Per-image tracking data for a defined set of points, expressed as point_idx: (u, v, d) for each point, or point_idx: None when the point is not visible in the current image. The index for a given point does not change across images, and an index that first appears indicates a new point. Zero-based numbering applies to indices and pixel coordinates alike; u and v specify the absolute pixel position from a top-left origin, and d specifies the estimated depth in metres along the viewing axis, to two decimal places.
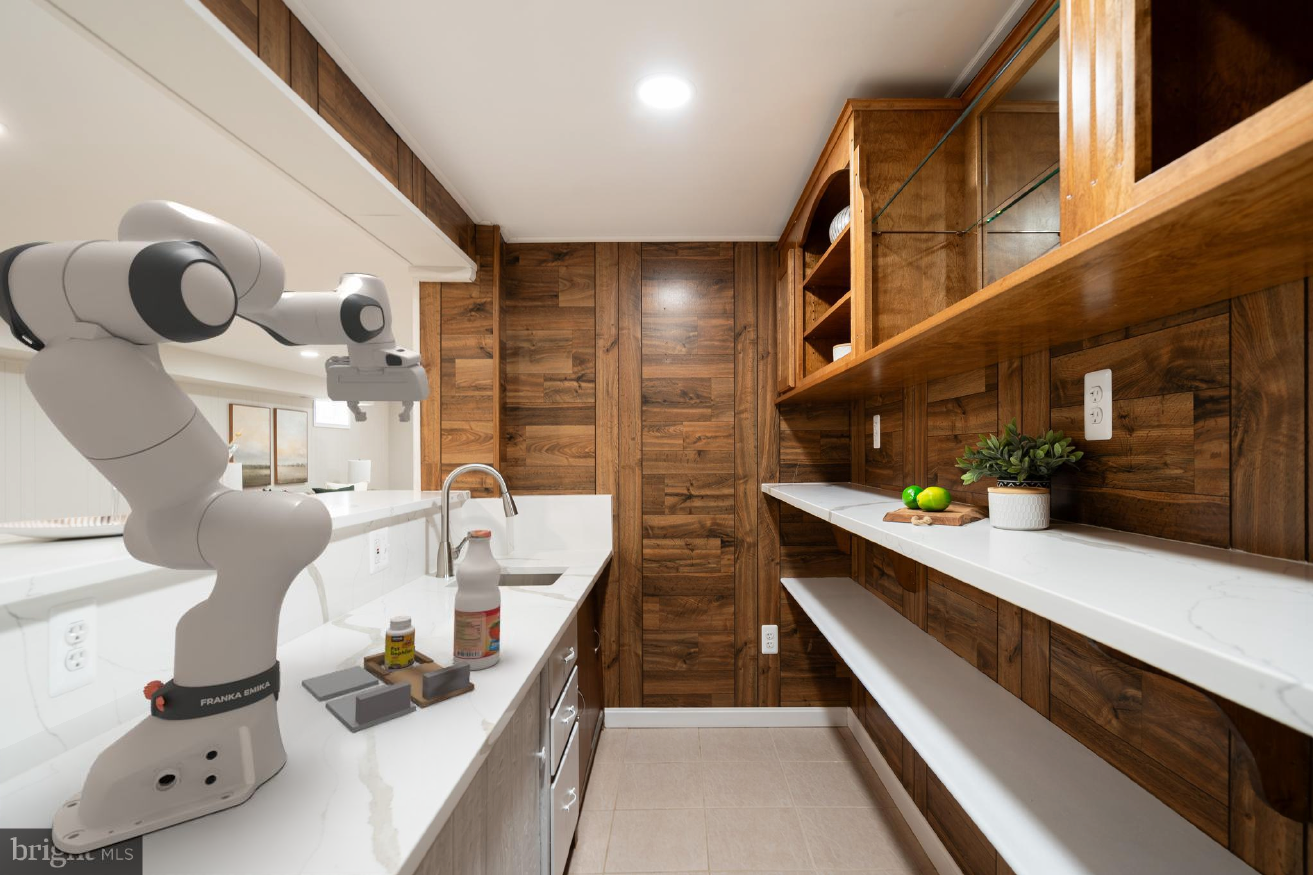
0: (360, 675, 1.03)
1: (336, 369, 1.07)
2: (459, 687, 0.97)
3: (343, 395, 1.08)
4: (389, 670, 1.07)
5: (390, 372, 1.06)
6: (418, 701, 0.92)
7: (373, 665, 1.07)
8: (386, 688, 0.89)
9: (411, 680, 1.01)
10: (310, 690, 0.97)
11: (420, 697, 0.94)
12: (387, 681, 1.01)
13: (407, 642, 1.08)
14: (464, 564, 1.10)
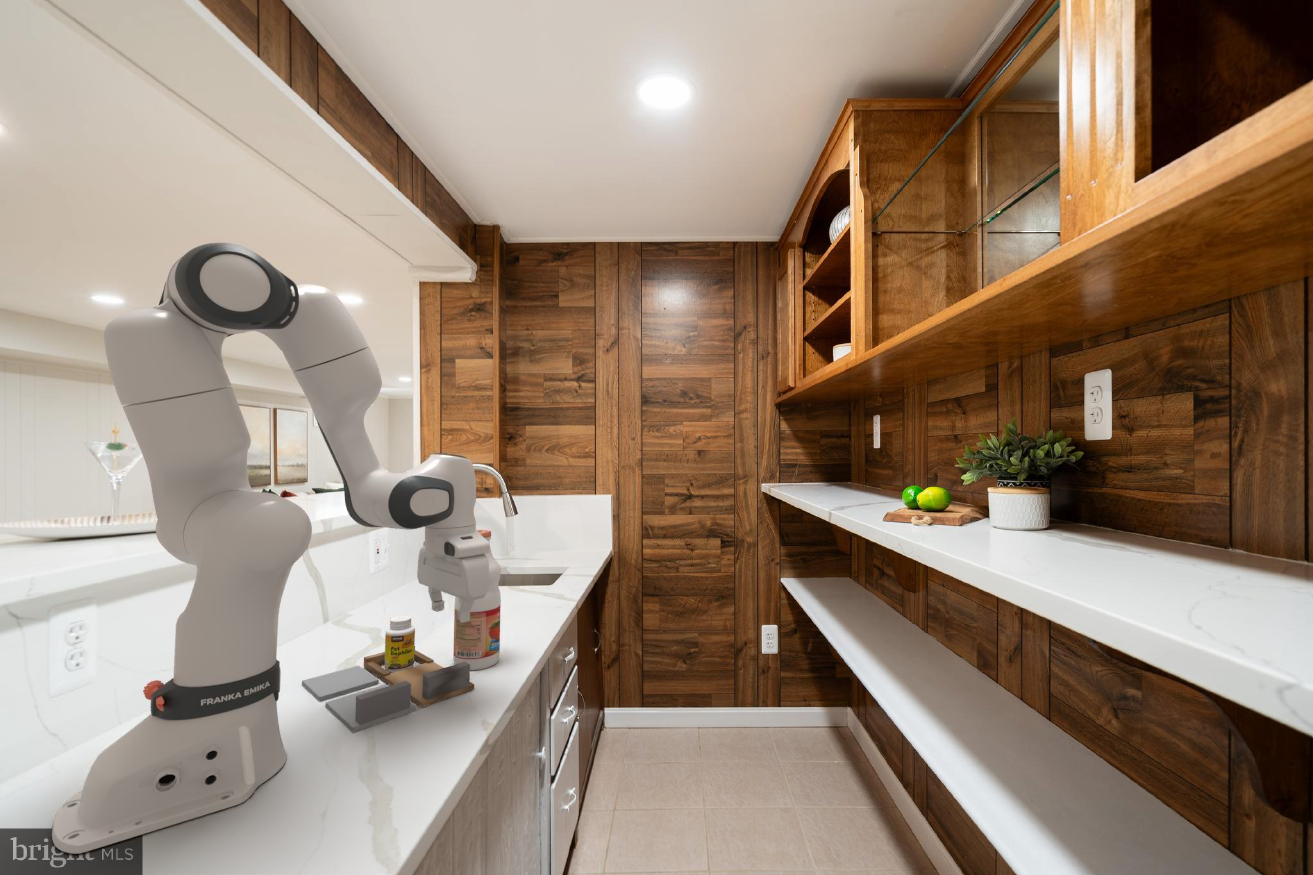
0: (360, 675, 1.03)
1: (423, 550, 1.01)
2: (459, 687, 0.97)
3: (424, 579, 1.00)
4: (389, 670, 1.07)
5: (449, 562, 0.92)
6: (418, 701, 0.92)
7: (373, 665, 1.07)
8: (386, 688, 0.89)
9: (411, 680, 1.01)
10: (310, 690, 0.97)
11: (420, 697, 0.94)
12: (387, 681, 1.01)
13: (407, 642, 1.08)
14: None
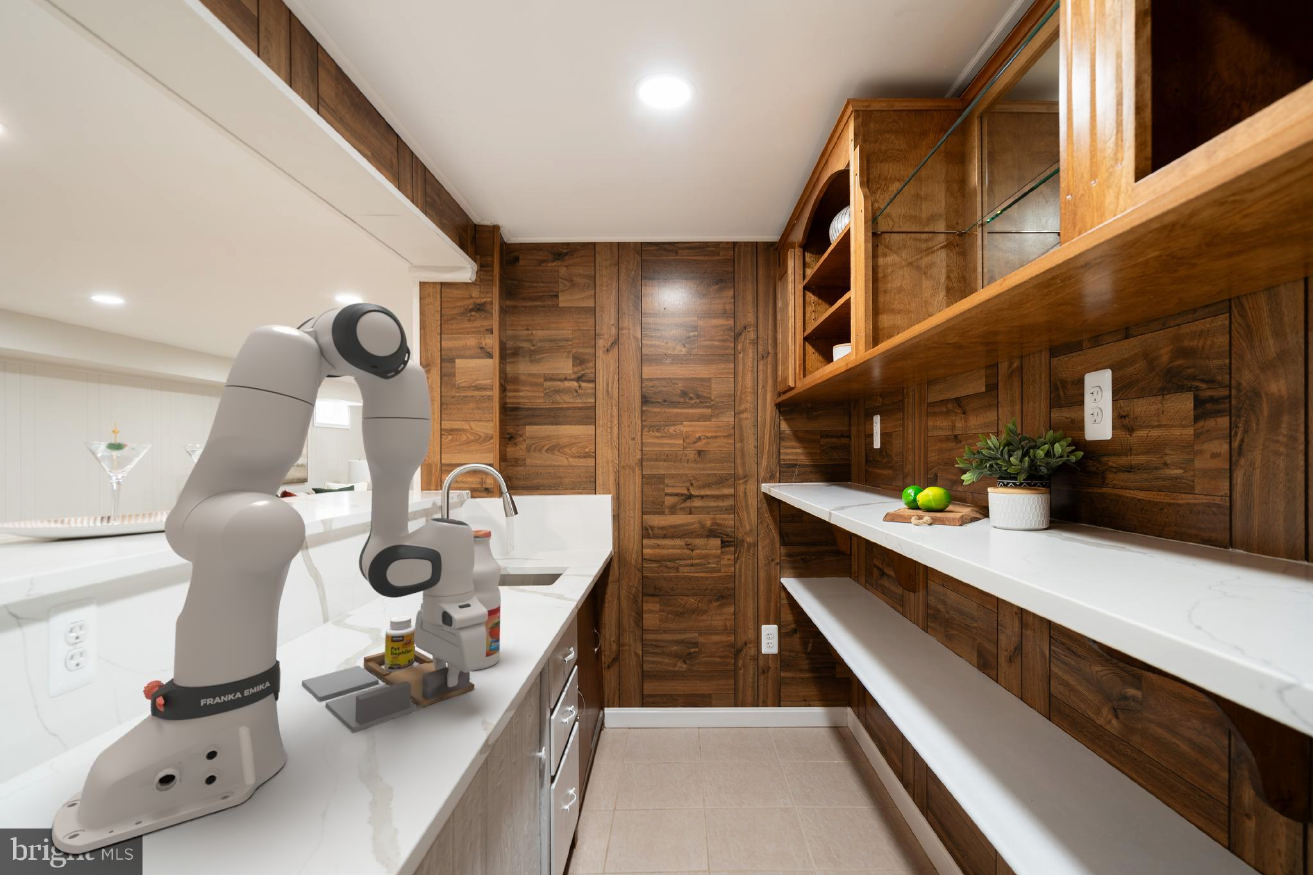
0: (360, 675, 1.03)
1: (420, 613, 1.00)
2: (459, 687, 0.97)
3: (421, 643, 0.99)
4: (389, 670, 1.07)
5: (446, 631, 0.92)
6: (418, 701, 0.92)
7: (373, 665, 1.07)
8: (386, 688, 0.89)
9: (411, 680, 1.01)
10: (310, 690, 0.97)
11: (420, 697, 0.94)
12: (387, 681, 1.01)
13: (407, 642, 1.08)
14: None
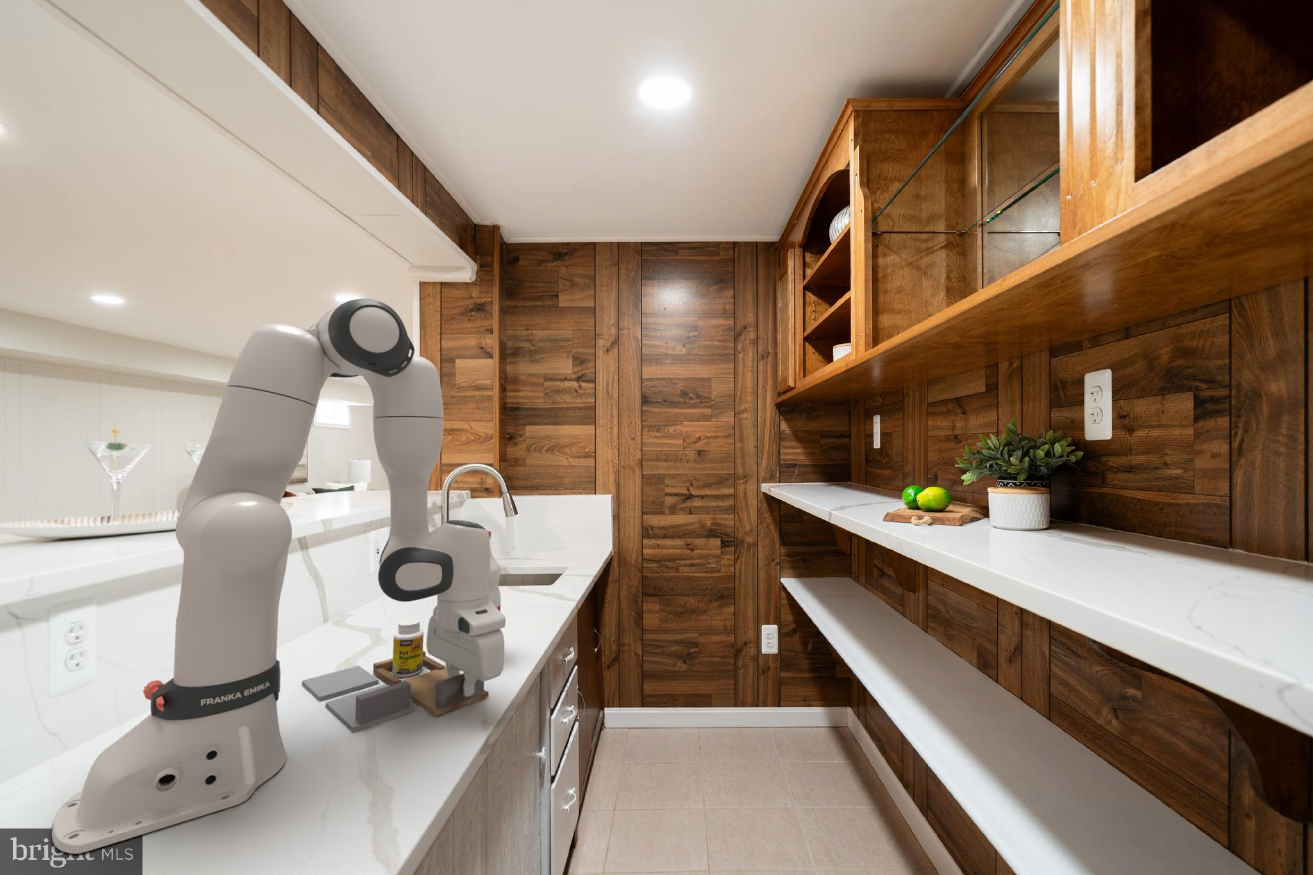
0: (360, 675, 1.03)
1: (433, 619, 0.96)
2: (473, 695, 0.94)
3: (434, 651, 0.96)
4: (397, 675, 1.04)
5: (463, 638, 0.88)
6: (431, 710, 0.89)
7: (383, 672, 1.03)
8: (386, 688, 0.89)
9: (423, 687, 0.97)
10: (310, 690, 0.97)
11: (433, 705, 0.90)
12: None
13: (416, 646, 1.05)
14: None
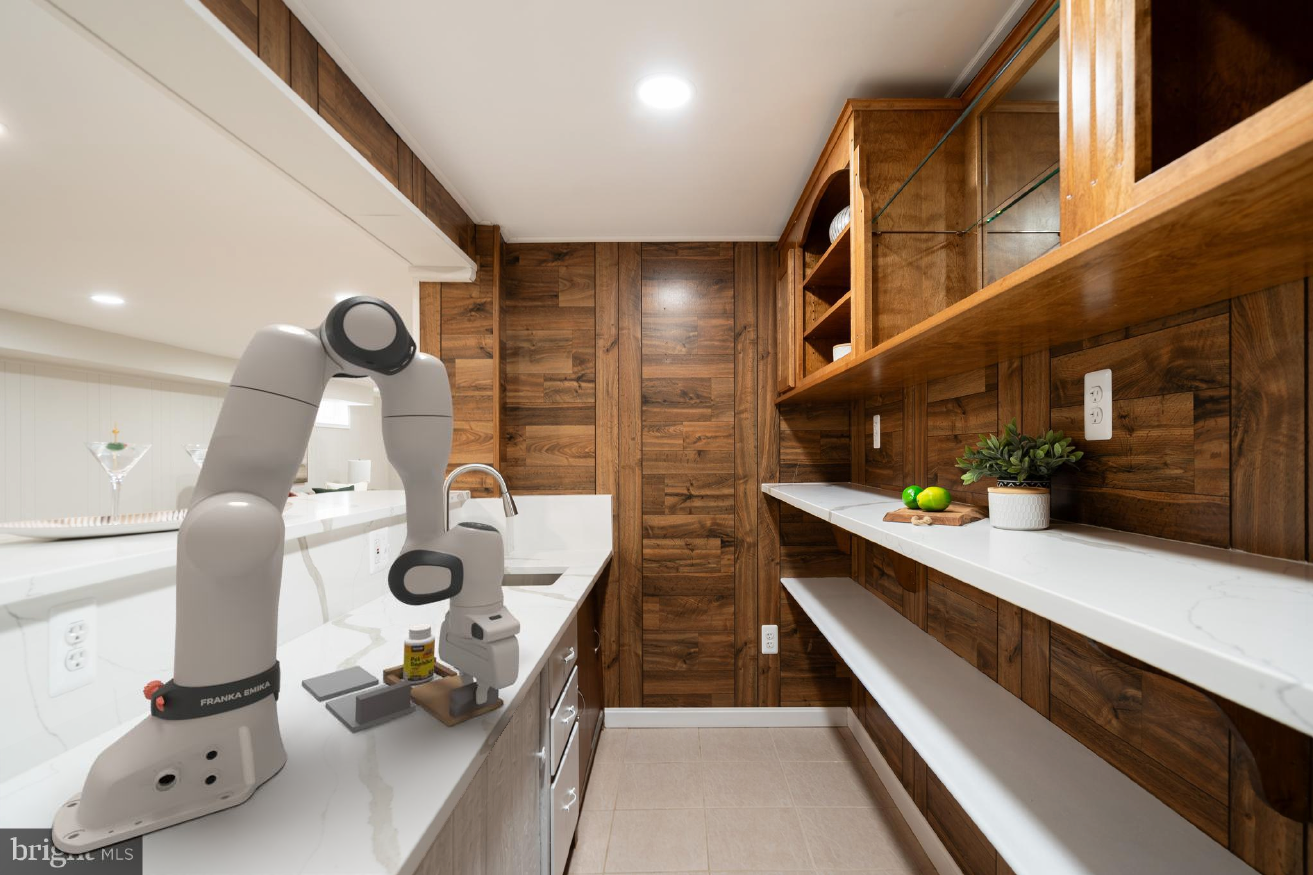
0: (360, 675, 1.03)
1: (446, 625, 0.93)
2: (488, 704, 0.90)
3: (446, 657, 0.93)
4: (409, 682, 1.01)
5: (476, 644, 0.85)
6: (445, 719, 0.86)
7: (393, 679, 1.00)
8: (386, 688, 0.89)
9: (435, 695, 0.94)
10: (310, 690, 0.97)
11: (447, 715, 0.87)
12: None
13: (428, 652, 1.02)
14: None
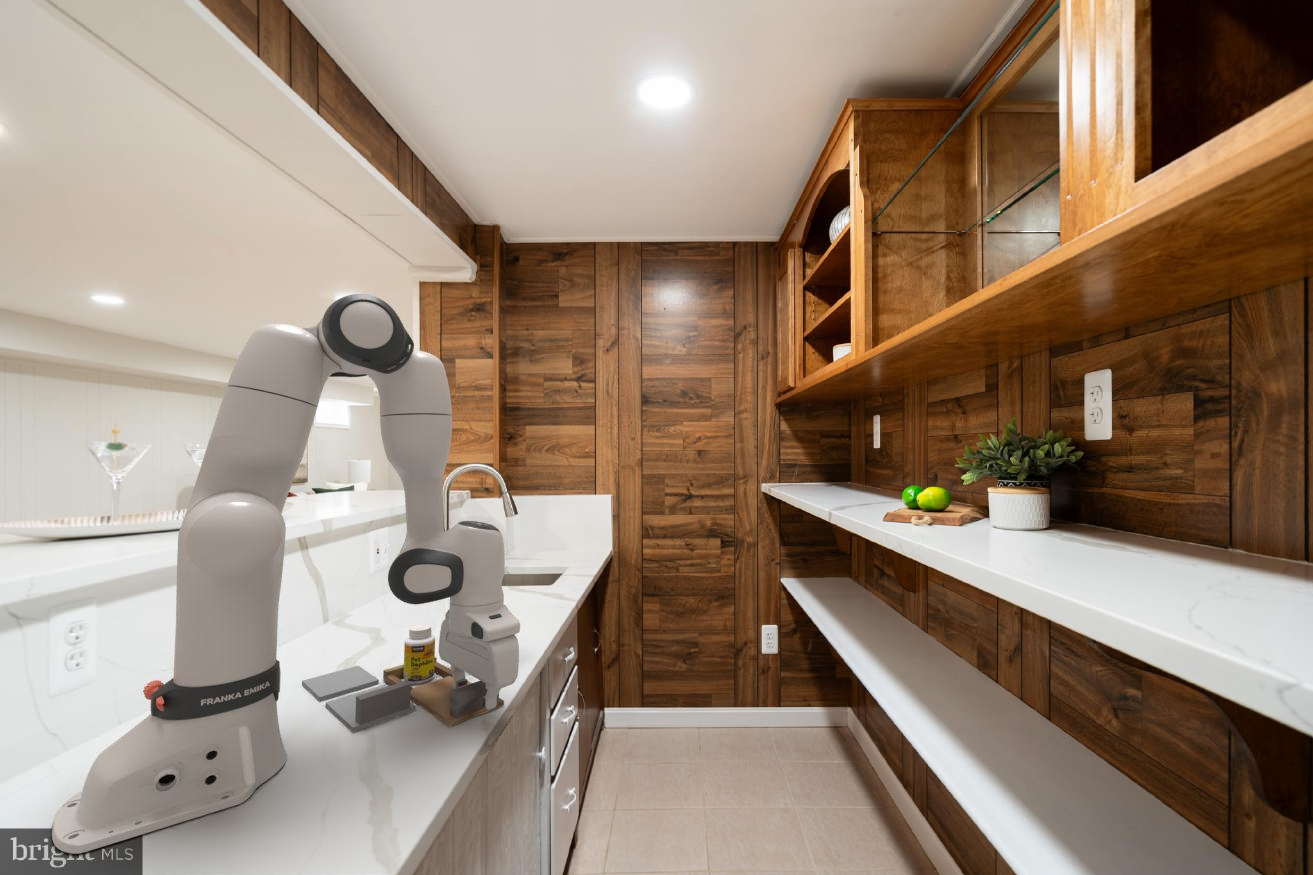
0: (360, 675, 1.03)
1: (446, 624, 0.93)
2: None
3: (446, 656, 0.92)
4: (409, 682, 1.01)
5: (476, 643, 0.85)
6: (446, 720, 0.86)
7: (394, 679, 1.00)
8: (386, 688, 0.89)
9: (435, 695, 0.94)
10: (310, 690, 0.97)
11: (447, 715, 0.87)
12: None
13: (428, 652, 1.02)
14: None
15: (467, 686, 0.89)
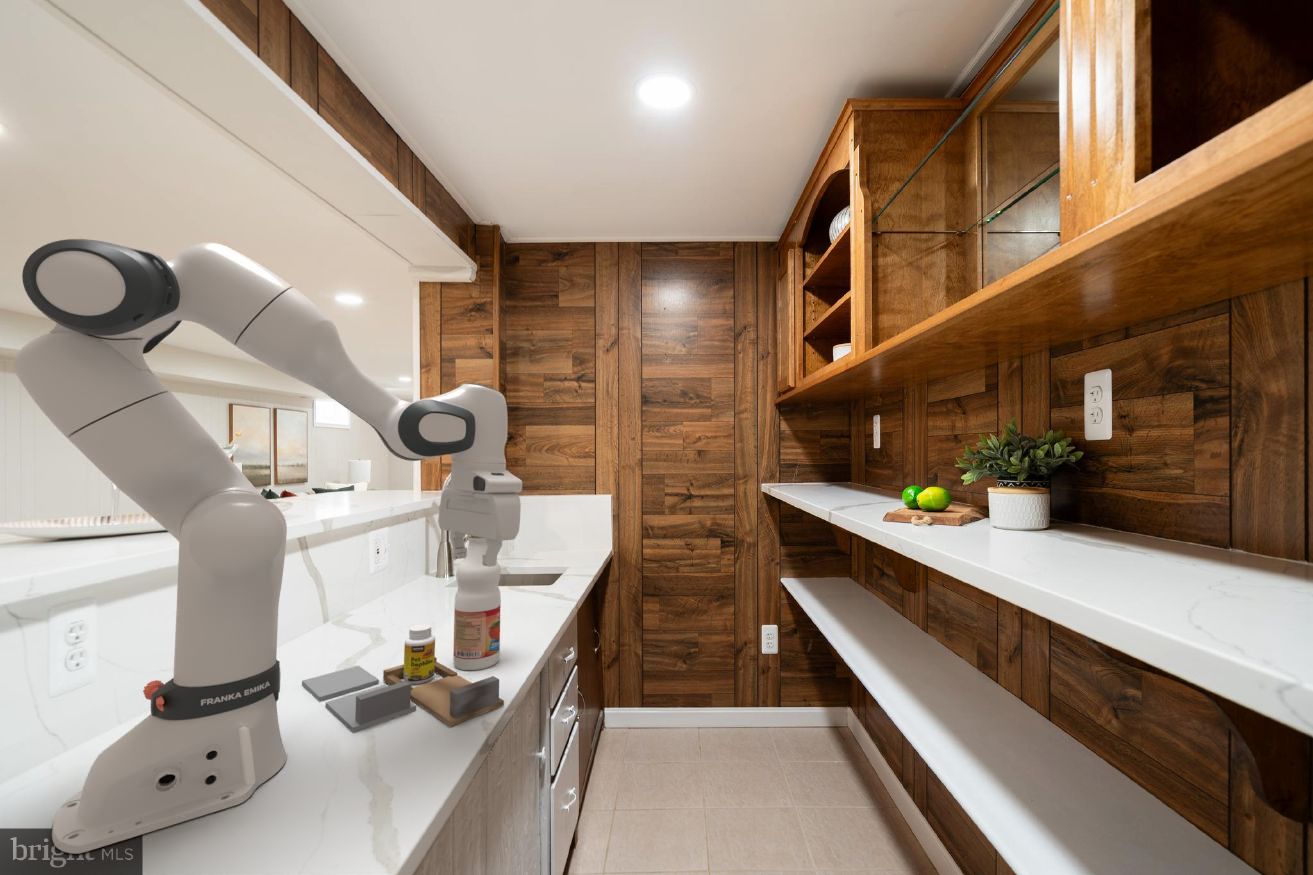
0: (360, 675, 1.03)
1: (447, 492, 0.93)
2: (488, 704, 0.90)
3: (446, 523, 0.92)
4: (409, 682, 1.01)
5: (478, 499, 0.85)
6: (446, 720, 0.86)
7: (394, 679, 1.00)
8: (386, 688, 0.89)
9: (435, 695, 0.94)
10: (310, 690, 0.97)
11: (447, 715, 0.87)
12: None
13: (428, 652, 1.02)
14: (464, 564, 1.10)
15: (467, 686, 0.89)
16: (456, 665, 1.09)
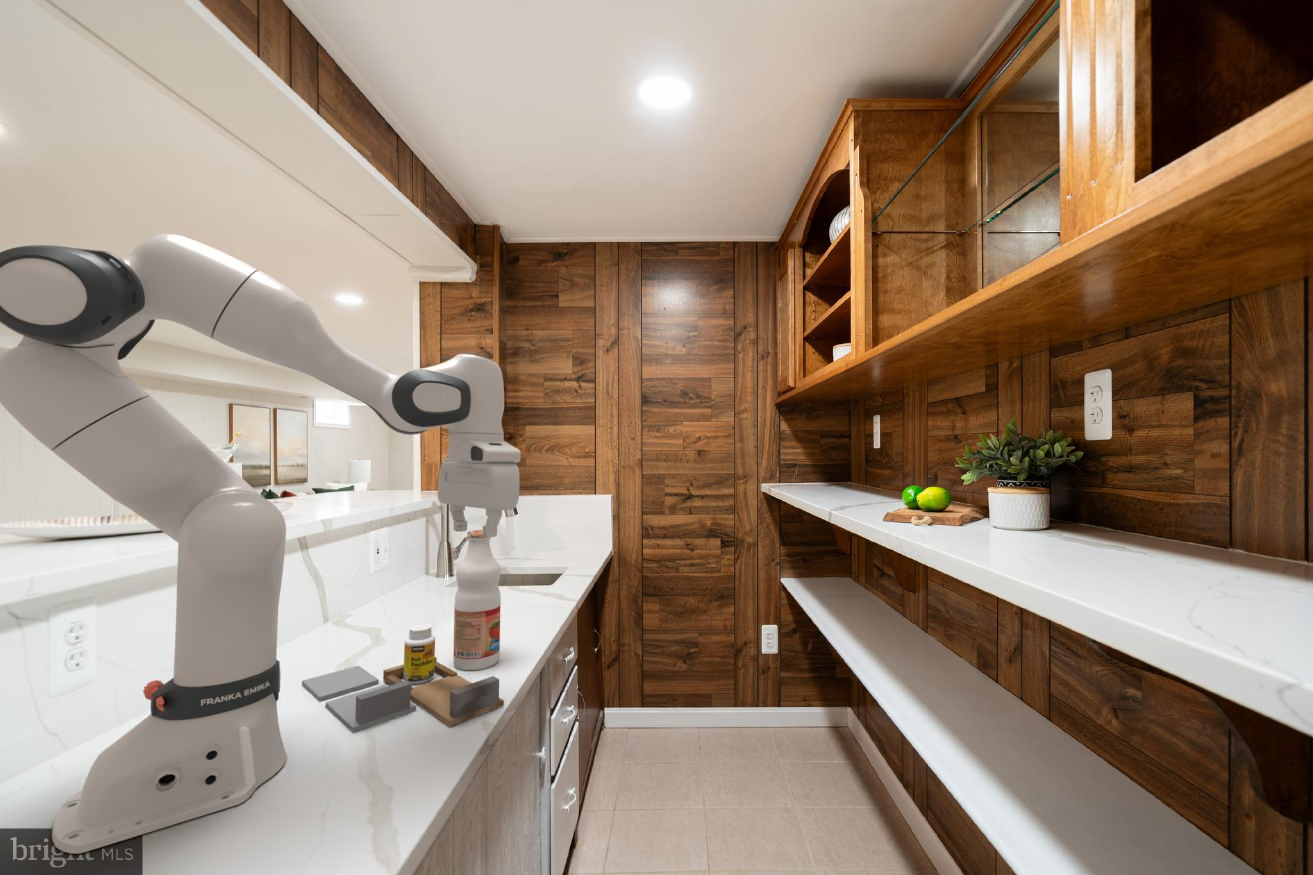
0: (360, 675, 1.03)
1: (445, 465, 0.92)
2: (488, 704, 0.90)
3: (446, 497, 0.91)
4: (409, 682, 1.01)
5: (476, 469, 0.84)
6: (446, 720, 0.86)
7: (394, 679, 1.00)
8: (386, 688, 0.89)
9: (435, 695, 0.94)
10: (310, 690, 0.97)
11: (447, 715, 0.87)
12: None
13: (428, 652, 1.02)
14: (464, 564, 1.10)
15: (467, 686, 0.89)
16: (456, 665, 1.09)
